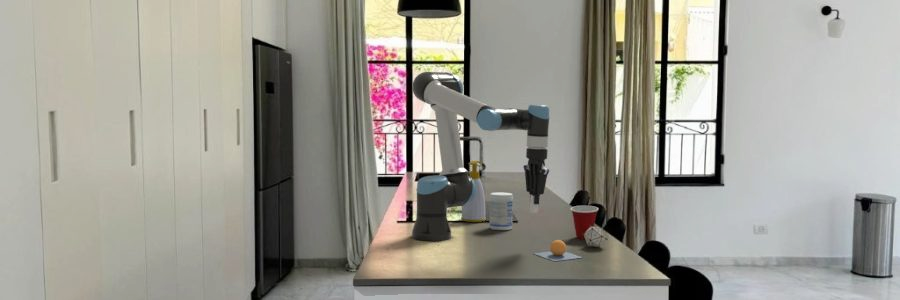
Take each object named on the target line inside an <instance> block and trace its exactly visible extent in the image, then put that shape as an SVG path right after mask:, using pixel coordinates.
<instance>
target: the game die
mask: <svg viewBox="0 0 900 300" xmlns="http://www.w3.org/2000/svg"><path fill="white" fill-rule="evenodd" d="M589 226H590V228H589V229H588V230H587V231H586V232H585V233H584V234H583V233H582V235H584V237H585V239H584V240H585V242H586V246H585V247H586V248H587V247H588V246H590V247H596V248H598V249H599V248H600V249H601V247H600V246H601V245H602V244H603V243H604V241H605V240H607V241H608V240H609V239H608V238H606V236H605V233H604V229H603V228H604V225H602V226H601V227H598V226H594V227H591V225H589Z"/></svg>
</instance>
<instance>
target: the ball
mask: <svg viewBox="0 0 900 300" xmlns="http://www.w3.org/2000/svg"><path fill="white" fill-rule="evenodd" d="M549 250H550V252H552V254H554V255H555V256H561V255H563V254H564V253H565V252H567V245H566V244H565V242H564V241H563V240H561V239H555V240H553V241H552V242H551V244H550V246H549Z"/></svg>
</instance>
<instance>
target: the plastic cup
mask: <svg viewBox="0 0 900 300" xmlns="http://www.w3.org/2000/svg"><path fill="white" fill-rule="evenodd" d="M570 211H571V214H572V217H573V218H572V219H573V225H574V229H575V237H576V238H577V239H579V240H580V239H581V240H585V237H584V235H582V233H583V234H584V233H585V232H586V231H587V230H588V229H589V228H590V226H589V225H591V227H595V223H596V219H597V218H596V217H597V213H598V211H599V207H597V206H593V205H576V206H572V207H570Z"/></svg>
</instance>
